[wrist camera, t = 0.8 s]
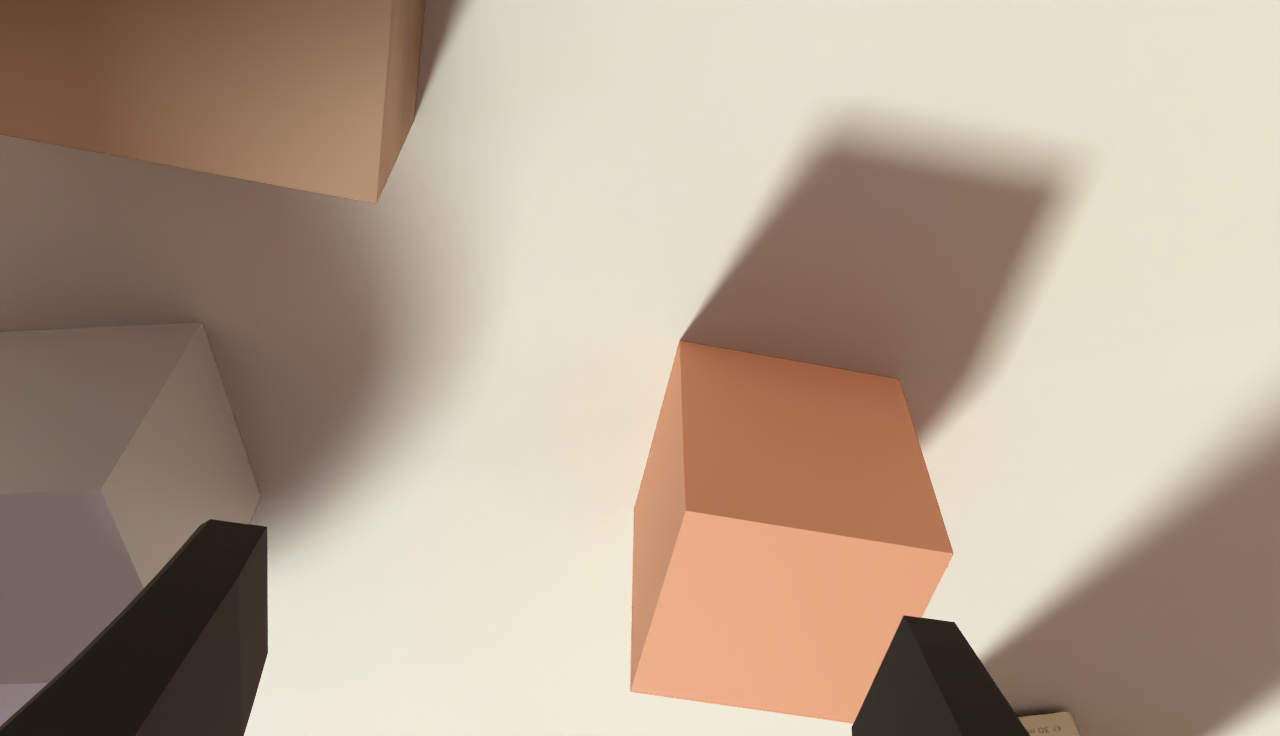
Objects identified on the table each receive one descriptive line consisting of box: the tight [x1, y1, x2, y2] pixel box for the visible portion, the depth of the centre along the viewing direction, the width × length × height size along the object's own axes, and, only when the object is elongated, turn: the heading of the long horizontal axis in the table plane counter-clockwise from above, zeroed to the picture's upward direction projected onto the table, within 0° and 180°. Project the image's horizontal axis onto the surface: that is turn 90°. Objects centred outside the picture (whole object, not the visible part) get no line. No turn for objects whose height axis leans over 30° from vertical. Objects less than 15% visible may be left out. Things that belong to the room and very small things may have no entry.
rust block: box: [630, 341, 953, 723], centre depth 21 cm, size 4×4×5 cm
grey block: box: [0, 322, 261, 685], centre depth 21 cm, size 4×4×5 cm
